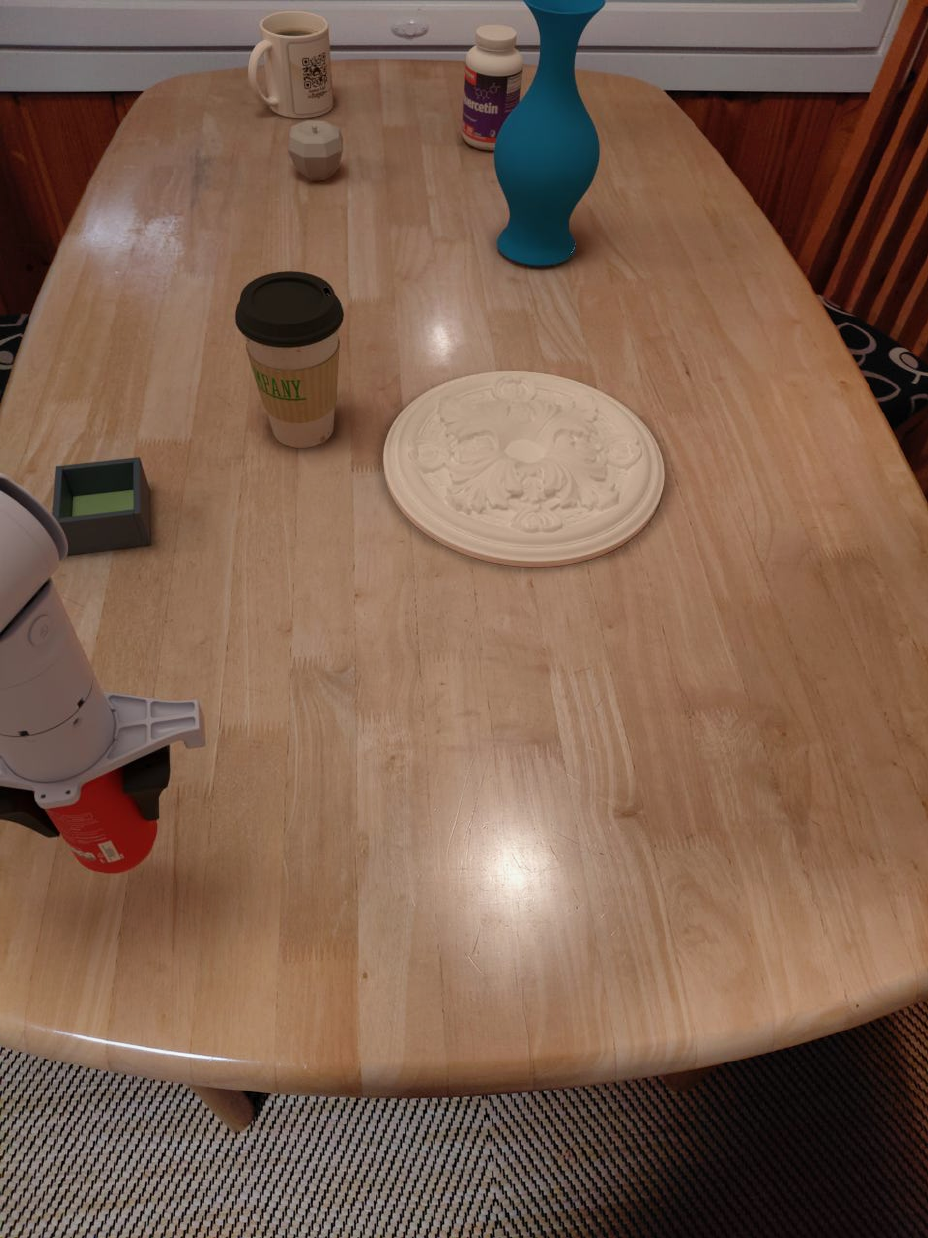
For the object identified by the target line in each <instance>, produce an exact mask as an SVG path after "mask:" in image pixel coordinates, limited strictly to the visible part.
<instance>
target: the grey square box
mask: <svg viewBox="0 0 928 1238" xmlns="http://www.w3.org/2000/svg"><path fill="white" fill-rule="evenodd" d="M54 471H55V472H54V485H53V500H52V511H51V512H52V513H51V514H52V515H53V516H54V517H55V519H56V520H57V522H58V523H59V525H60V526H61V528H62V530H63V532H64V534H65V536H66V539H67V543H68V552H67V555H66V556H73V555H80V554H89V553H98V552H105V551H113V550H120V549H127V548H128V549H130V548H137V547H145V546H151V543H152V542H151V541H152V540H151V539H152V538H151V489H150V486H149V483H148V479H147V476H146V473H145V470H144V466H143V463H142V460H141V457H140V456H136V457H127V458H119V459H109V460H101V461H92V462H91V461H90V462H82V463H74V464H65V465H55V470H54Z"/></svg>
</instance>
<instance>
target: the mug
mask: <svg viewBox="0 0 928 1238" xmlns="http://www.w3.org/2000/svg"><path fill="white" fill-rule="evenodd" d="M259 33H260V42H258V43H257V44H256V45H255V47H254V48H253V50H252V51H251V53H250V57H249V61H248V69H247V70H248V72H247V77H248V83H249V86H250V89H251V91H252V94H253V95H254V96H255V99H256V100H258V101H259V102H261V103H263V104H264V105H266V106H268V107H269V109H270V110H271V111H272V112H273V113H275V114H276V115H280V116H281V117H286V118H290V119H312V118H317V117H321V116H323V115H325V114H327V113H329V112H330V111H332V109H333V107H334V89H333V73H332V58H331V42H330V27H329V22H328V20H327V19H325V18H324V17H323V16H322V15H319V14H316V13H313V12H309V11H299V10H288V11H279V12H275V13H271V14H269V15H266V16H265V17H263V18H262V19H260V22H259ZM261 59H263V69H264V77H265V85H266V93H267V97H266V96H265V95H264V94H263V93H262V91H261V89H260V87H259V81H258V68H259V63H260V61H261ZM332 100H333V101H332Z"/></svg>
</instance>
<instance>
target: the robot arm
mask: <svg viewBox="0 0 928 1238" xmlns="http://www.w3.org/2000/svg"><path fill="white" fill-rule="evenodd" d="M67 552H68V543H67V539H66V536H65V534H64V532H63V530H62V528H61V526H60V525H59V523H58V522H57V520H56V519H55V517H54V516H53V515H52V513H51V512H50V510H49V509H48V508H47V507H46V506H45V504H43V503H42V502H41V500H39V498H37V497H36V496H35V495H34V494H33V493H32V492H30V491H28V489H26V488H24V487H23V486H21V485H20V484H19V483H18V482H16V481H15V480H13V478H11V477H10V476H8V475H7V474H5V473H4V472H2V471H0V820H1V821H6V822H11V823H15V824H18V825H20V826H23V827H25V828H27V829H29V830H31V831H34V832H35V833H37V834H40V835H41V836H44V837H45V838H48V839H53V838H58V837H60V836H61V834H60V832H59V831H58V829H57V828H56V826H55V825H54V823H53V822H52V820H51V819H50V817H49V816H48V814H47V813H46V811H45V810H44V809H49V808H55V807H61V806H67V805H71V804H74V803H76V802H77V801H78V800H79V798H80V795H81V787H82V785H83V784H85V783H87V782H89V781H91V780H93V779H95V778H97V777H100V776H102V775H104V774H106V773H108V772H110V771H113V770H115V769H117V768H119V767H121V766H123V793H124V794H126V795H129V796H131V797H132V798H133V799H134V800H135V801H136V802H137V803H138V805H139V807H140V809H141V812H142V815H143V817H144V819H145V820H146V821H153V820H157V821H158V820H159V819H160V796H161V794H162V793H163V791H164V790H166V789H167V788H169V783H170V780H171V779H170V778H171V772H172V771H171V745H172V744H175V743H177V742H180V741H182V742H183V743H184V746H185V748H186V749H189V750H193V749H199V748H204V747H206V744H207V743H206V729H205V728H206V725H205V716H204V712H203V710H202V706H201V704H200V700H199V698H194V699H184V700H183V699H182V700H175V699H174V700H172V699H162V698H155V697H147V696H141V695H133V694H126V693H120V692H113V691H106V690H103V689H102V688H101V685H100V683H99V681H98V678H97V676H96V674H95V672H94V669H93V667H92V665H91V662H90V659H89V658H88V656H87V654H86V652H85V649H84V648H83V644H82V642H81V641H80V638H79V636H78V634H77V632H76V630H75V628H74V626H73V623H72V621H71V618H70V616H69V614H68V612H67V610H66V608H65V604H64V603H63V601H62V598H61V596H60V595H59V592H58V590H57V588H56V585H55V583H54V581H53V579H52V576H53V575H54V574H55V573H56V572H57V570H58V569H59V566H60V563H61V562H62V561H63V560H65V558H66V557H67V556H68V555H67ZM33 791H35V794H34V793H33Z"/></svg>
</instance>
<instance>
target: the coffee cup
mask: <svg viewBox="0 0 928 1238" xmlns="http://www.w3.org/2000/svg"><path fill="white" fill-rule="evenodd" d="M234 314H235V315H234V322H235V325H236V327H237V329H238V331H239V332H240V333H241V334H242V335H243V337H244V340H245V350H246V353H247V356H248V359H249V363H250V366H251V369H252V370H251V371H252V373H253V376H254V379H255V383H256V386H257V389H258V393H259V396H260V399H261V402H262V405H263V408H264V410H265V412H266V414H267V417H268V421H269V423H270V427H271V431H272V434H273V436H274V437H275V439H276V440H277V441H278V442H279V443H280V444H283V445H285V446H287V447H290V448H295V449H307V448H308V449H309V448H313V447H317V446H318V445H321V444H323V443H324V442H326V441H327V440H328V439H330V437H331V436H332V435H333V432H334V427H335V408H336V404H337V400H338V399H337V398H338V397H337V396H338V383H339V382H338V381H339V380H338V379H339V364H340V363H339V362H340V347H341V346H340V345H341V341H340V336H339V332H340V327H341V326H342V324H343V322H344V318H345V317H344V316H345V312H344V309H343V304H342V302H341V300H340V299H339V297H338V296H337V295H336V292H335V290H334V289H333V287H332V285H331V284H329V282H328V281H327V280H325V279H323V278H321V277H320V276H317V275H315V274H312V273H308V272H303V271H295V270H294V271H293V270H292V271H291V270H285V271H277V272H270V273H267V274H263V275H260V276H259V277H257V278H254V279H253V280H251V281H250V282H248V283H247V284H246V285H245V286H244V288H242V291H241V293H240V296H239V300H238V302H237V305H236V308H235V312H234Z"/></svg>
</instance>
